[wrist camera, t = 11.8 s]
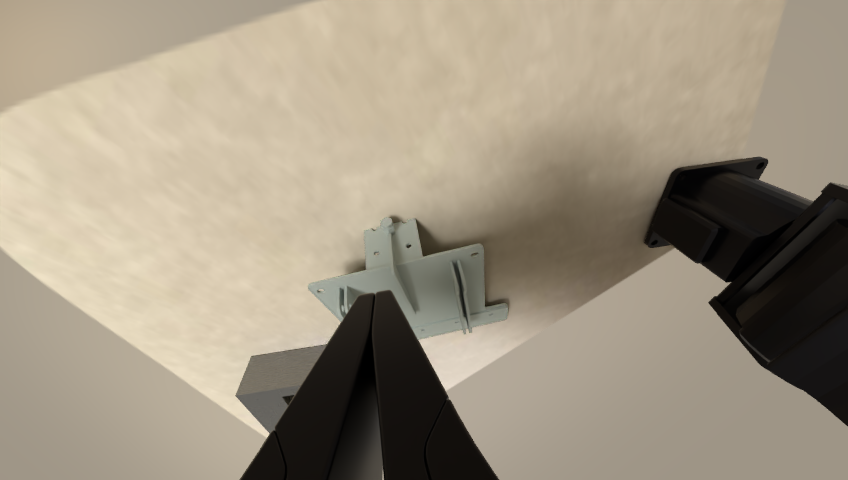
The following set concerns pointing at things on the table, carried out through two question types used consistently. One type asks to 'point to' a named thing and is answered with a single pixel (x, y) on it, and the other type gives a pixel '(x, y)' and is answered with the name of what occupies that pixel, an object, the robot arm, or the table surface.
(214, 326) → the table surface
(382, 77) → the table surface
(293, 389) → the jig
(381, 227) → the metal bracket
